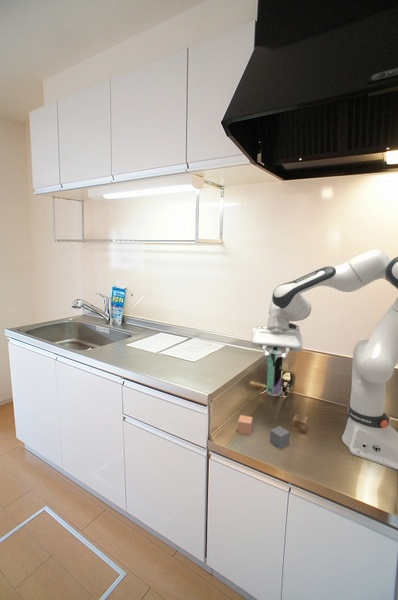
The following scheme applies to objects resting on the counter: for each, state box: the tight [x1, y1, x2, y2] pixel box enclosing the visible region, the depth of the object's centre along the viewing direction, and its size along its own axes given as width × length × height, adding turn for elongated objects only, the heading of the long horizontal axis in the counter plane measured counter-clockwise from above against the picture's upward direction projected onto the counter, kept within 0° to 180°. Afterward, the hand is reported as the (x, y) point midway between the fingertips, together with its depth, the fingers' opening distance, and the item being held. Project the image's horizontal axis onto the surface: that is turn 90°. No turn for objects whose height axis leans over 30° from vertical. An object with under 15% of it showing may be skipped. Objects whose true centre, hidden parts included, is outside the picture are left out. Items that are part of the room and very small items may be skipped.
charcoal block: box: [269, 425, 291, 450], centre depth 114 cm, size 5×5×5 cm
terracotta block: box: [237, 414, 253, 436], centre depth 121 cm, size 5×5×5 cm
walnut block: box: [291, 413, 309, 435], centre depth 122 cm, size 5×5×5 cm
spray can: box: [266, 346, 283, 397], centre depth 121 cm, size 6×6×20 cm
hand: (275, 357), depth 119 cm, fingers closed on spray can, 5 cm apart
